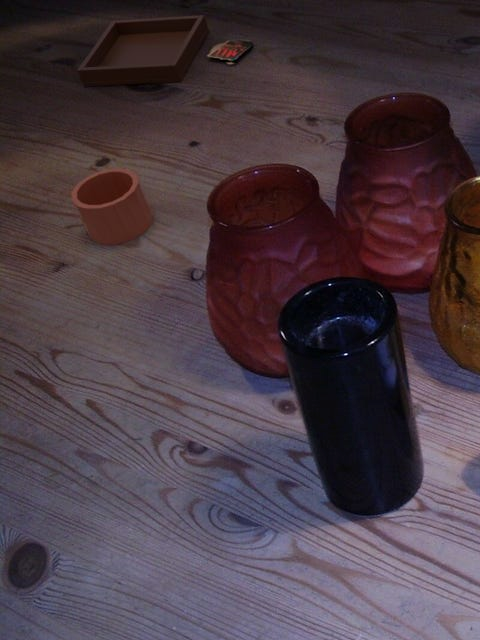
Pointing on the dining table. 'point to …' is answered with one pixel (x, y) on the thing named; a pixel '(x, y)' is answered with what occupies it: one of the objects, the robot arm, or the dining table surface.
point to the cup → (112, 206)
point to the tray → (144, 51)
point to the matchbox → (230, 49)
